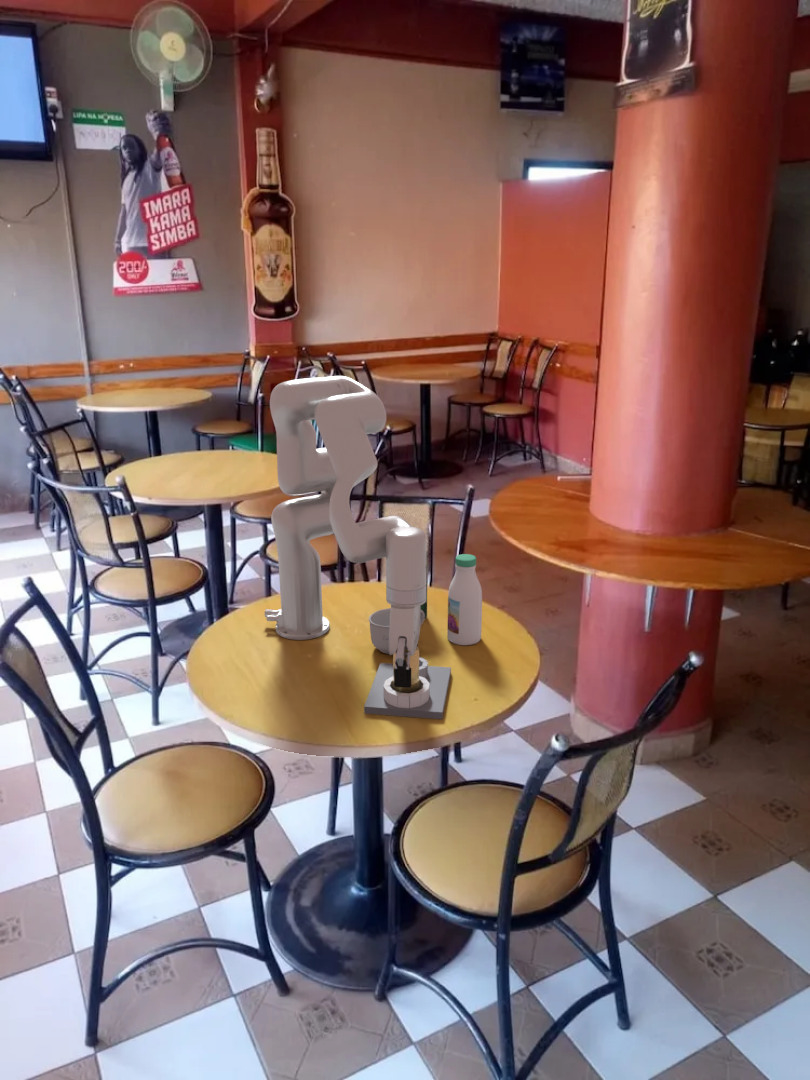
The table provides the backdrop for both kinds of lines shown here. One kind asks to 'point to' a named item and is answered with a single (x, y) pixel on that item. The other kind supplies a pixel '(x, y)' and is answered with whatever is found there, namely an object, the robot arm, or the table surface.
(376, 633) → the teacup
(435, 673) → the collar board
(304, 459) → the robot arm
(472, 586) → the milk bottle
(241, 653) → the table surface
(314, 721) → the table surface
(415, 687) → the gold cylindrical peg
